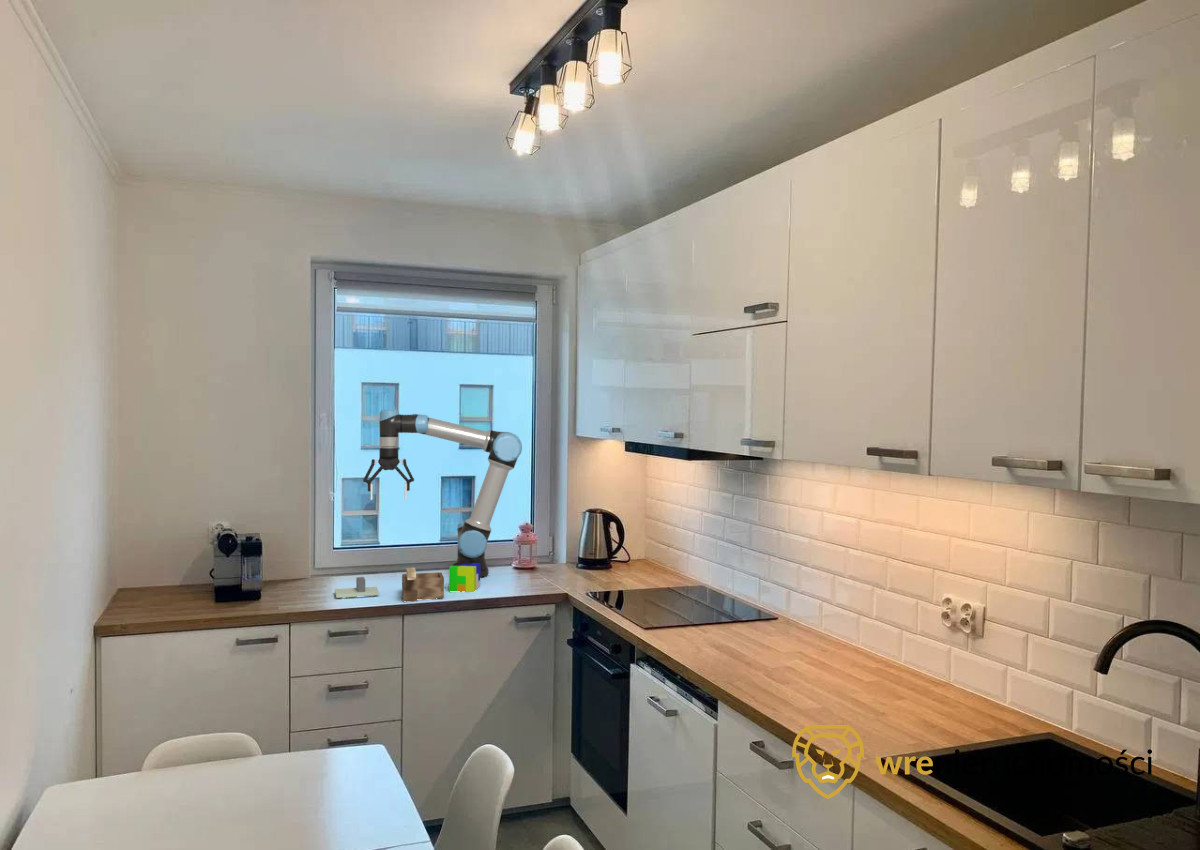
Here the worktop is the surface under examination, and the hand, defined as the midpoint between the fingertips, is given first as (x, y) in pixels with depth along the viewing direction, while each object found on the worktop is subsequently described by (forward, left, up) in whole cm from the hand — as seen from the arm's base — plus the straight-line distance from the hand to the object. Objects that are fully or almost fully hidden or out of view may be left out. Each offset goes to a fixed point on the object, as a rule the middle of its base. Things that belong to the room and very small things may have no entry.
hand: (388, 499), depth 350 cm
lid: (+12, +19, -35) cm, 42 cm away
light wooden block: (-7, +38, -25) cm, 46 cm away
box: (-12, +29, -35) cm, 47 cm away
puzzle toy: (-29, +19, -35) cm, 49 cm away
